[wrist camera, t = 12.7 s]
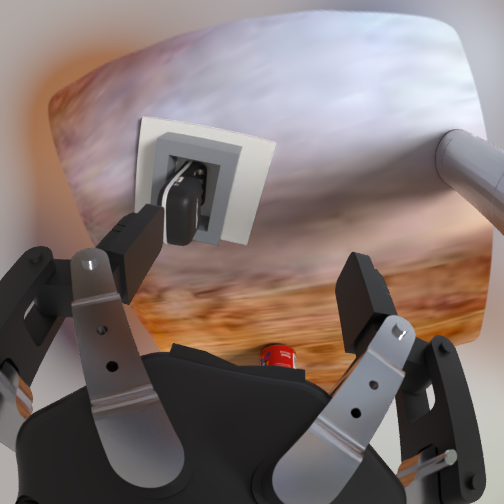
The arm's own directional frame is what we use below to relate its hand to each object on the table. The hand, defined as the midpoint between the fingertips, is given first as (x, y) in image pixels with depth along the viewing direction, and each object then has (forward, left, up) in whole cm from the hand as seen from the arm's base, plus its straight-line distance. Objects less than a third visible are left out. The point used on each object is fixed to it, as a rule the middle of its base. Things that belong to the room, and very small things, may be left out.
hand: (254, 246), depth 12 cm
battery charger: (+7, +9, -26) cm, 28 cm away
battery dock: (+7, +9, -27) cm, 29 cm away
